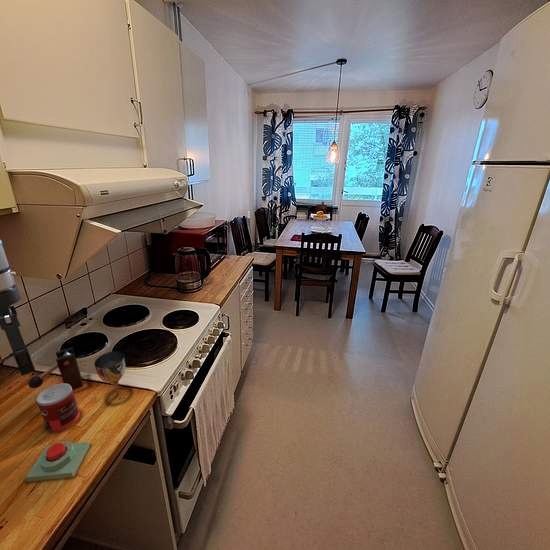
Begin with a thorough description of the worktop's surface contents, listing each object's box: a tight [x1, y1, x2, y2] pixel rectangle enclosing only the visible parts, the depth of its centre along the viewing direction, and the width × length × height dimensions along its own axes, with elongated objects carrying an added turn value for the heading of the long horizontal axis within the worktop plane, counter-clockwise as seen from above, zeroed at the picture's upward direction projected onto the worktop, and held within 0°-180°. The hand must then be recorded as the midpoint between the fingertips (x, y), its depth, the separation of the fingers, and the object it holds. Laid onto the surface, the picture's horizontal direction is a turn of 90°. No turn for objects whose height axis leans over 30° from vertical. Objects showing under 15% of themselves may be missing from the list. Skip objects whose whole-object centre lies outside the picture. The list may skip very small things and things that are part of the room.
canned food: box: [36, 382, 81, 431], centre depth 80 cm, size 8×8×11 cm
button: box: [46, 442, 66, 462], centre depth 69 cm, size 4×4×2 cm
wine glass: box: [93, 350, 127, 396], centre depth 88 cm, size 8×8×15 cm
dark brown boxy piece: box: [55, 347, 84, 391], centre depth 92 cm, size 8×7×14 cm
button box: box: [25, 440, 90, 483], centre depth 70 cm, size 10×8×4 cm
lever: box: [27, 352, 70, 389], centre depth 89 cm, size 13×4×4 cm
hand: (24, 360), depth 77 cm, fingers open, 13 cm apart
